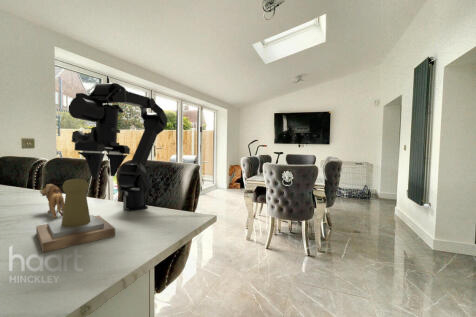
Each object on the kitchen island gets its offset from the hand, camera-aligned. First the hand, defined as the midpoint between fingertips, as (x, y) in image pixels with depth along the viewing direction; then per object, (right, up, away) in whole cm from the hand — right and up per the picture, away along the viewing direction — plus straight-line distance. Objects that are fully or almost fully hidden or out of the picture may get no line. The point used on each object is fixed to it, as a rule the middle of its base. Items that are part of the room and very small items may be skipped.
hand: (103, 176), depth 71 cm
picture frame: (-1, -14, -12) cm, 18 cm away
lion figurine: (-19, -13, +6) cm, 24 cm away
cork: (0, -11, -12) cm, 16 cm away
